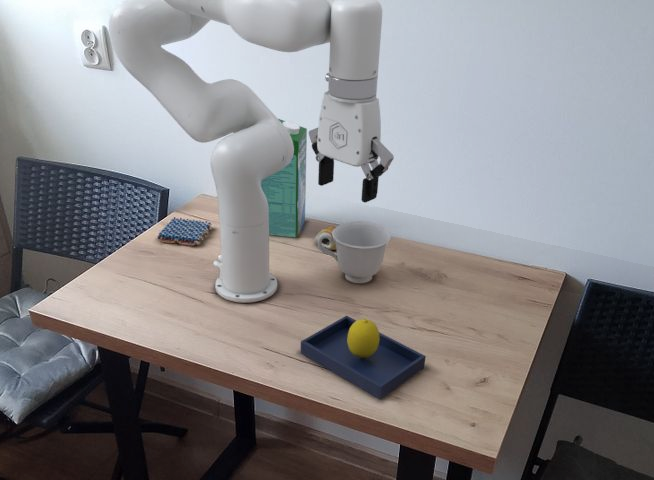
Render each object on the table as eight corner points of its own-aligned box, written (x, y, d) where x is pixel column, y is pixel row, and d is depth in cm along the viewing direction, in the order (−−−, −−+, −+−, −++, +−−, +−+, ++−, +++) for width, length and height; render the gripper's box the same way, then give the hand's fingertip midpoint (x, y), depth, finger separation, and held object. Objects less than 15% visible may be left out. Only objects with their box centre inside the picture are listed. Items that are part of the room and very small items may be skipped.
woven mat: (214, 228, 166) (214, 220, 165) (198, 248, 157) (198, 240, 156) (173, 223, 168) (172, 215, 167) (155, 242, 159) (154, 234, 158)
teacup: (317, 261, 153) (318, 219, 147) (385, 264, 153) (389, 221, 147) (315, 289, 143) (317, 245, 138) (388, 292, 143) (393, 248, 137)
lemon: (341, 362, 122) (344, 324, 117) (352, 345, 126) (354, 308, 122) (372, 370, 120) (375, 331, 116) (381, 353, 125) (385, 315, 120)
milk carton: (297, 238, 163) (298, 130, 148) (259, 233, 164) (257, 126, 150) (305, 221, 170) (307, 117, 155) (268, 217, 171) (267, 114, 157)
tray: (300, 353, 125) (300, 341, 124) (345, 326, 132) (346, 315, 131) (379, 399, 115) (381, 386, 113) (424, 368, 122) (425, 356, 121)
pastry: (341, 231, 166) (342, 216, 164) (362, 241, 162) (363, 226, 160) (312, 243, 160) (313, 228, 158) (333, 254, 156) (333, 238, 154)
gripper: (295, 80, 111) (294, 183, 121) (380, 103, 102) (372, 213, 111) (327, 72, 116) (324, 172, 126) (412, 94, 106) (401, 200, 116)
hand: (346, 191), depth 119 cm, fingers open, 9 cm apart
